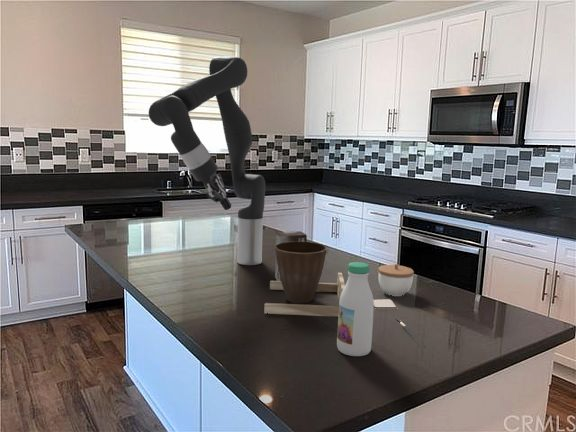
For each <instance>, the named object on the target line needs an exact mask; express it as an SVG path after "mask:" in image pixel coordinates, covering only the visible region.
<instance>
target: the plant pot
mask: <svg viewBox="0 0 576 432" xmlns="http://www.w3.org/2000/svg"><path fill="white" fill-rule="evenodd" d="M274 247H275V248H274V249H275V260H276V259H277V265H278V270H279V274H280V278H281V282H282V286H283V289H284V290H283V291H284V295H285V298H286V300H287V301H288V302H290V303H291V304H299V305H304V304H309V303H310V302H312V301H313V299H314V296H315V294H316V292H317V291H316V289H317V286H318V283H320V280H321V276H322V274H323V270H324V265H325V260H326V254H327V250H328V247H327V246H326V245H324V244H321V243H318V242H313V241H307V242H304V241H293V242H283V243H279V244H277V245H276V244H275V246H274Z"/></svg>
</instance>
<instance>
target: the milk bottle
mask: <svg viewBox="0 0 576 432" xmlns="http://www.w3.org/2000/svg"><path fill="white" fill-rule="evenodd" d="M369 272H370V265H369V264H368V263H366V262H361V261H360V262H359V261H353V262H349V263H348V266H347V274H348V278H347V281H346V283H345V287H344V289H343V291H342V293H341V296H340V302H339V301H338V303H339V305H338V306H339V315H338V318H337V333H336V334H337V335H336V347H337V350H338V351H339V352H340V353H342V354H343V355H346V356H350V357H363V356H366V355H368V354H370V352H371V350H372V342H373V326H374V325H373V324H374V311H375V309H374V308H375V306H374V300H375V299H374V296H373V292H372V290H371V287H370V285H369V279H368V278H369V277H368V276H369V275H370V273H369Z"/></svg>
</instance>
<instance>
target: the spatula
mask: <svg viewBox="0 0 576 432" xmlns="http://www.w3.org/2000/svg"><path fill="white" fill-rule="evenodd" d="M373 300H374V308H375V307H397V306H396V305H395V303H394V302H393V300H391V299H390V298H387V299H373ZM399 324H400V325H401V326H402V328H403V329H404V330H405V331H406V332H407V334H408V335H409V334H410V335H411V336H412V337H413V338H414V339H416V340H417V341H418V342H420V343H421V344H422V342H423V341H422V340H421V339H420V338H419V337H418V335H417V334H416V333H415V332H414V331H413V330H412V329H411V327H409V326H408V325H406V324H405V323H403V322H402V321H401V322H400V323H399ZM410 335H409V336H410ZM411 336H410V337H411ZM412 337H411V338H412ZM413 338H412V339H413ZM414 339H413V340H414ZM421 341H422V342H421ZM422 345H423V344H422Z"/></svg>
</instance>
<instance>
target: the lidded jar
mask: <svg viewBox="0 0 576 432" xmlns="http://www.w3.org/2000/svg"><path fill="white" fill-rule="evenodd" d="M377 269H378V270H377V271H378V284H379V287H380V289H382V291H383V292H385V293H386V294H385V293H384V294H385V295H387V294H388V295H387V296H390V295H392V296H391V297H403V296H405V294H406V293H408V291H409V290H410V289H411V288H412V284H413V280H414V274H415V271H414V270H413V269H412V268H411V267H407V266H404V265H399V264H398V263H394V264H384V265H380V266H379V267H378V268H377ZM402 295H403V296H402Z"/></svg>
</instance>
